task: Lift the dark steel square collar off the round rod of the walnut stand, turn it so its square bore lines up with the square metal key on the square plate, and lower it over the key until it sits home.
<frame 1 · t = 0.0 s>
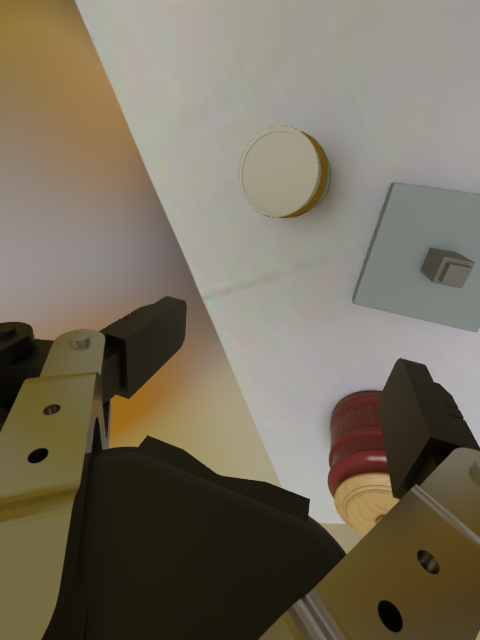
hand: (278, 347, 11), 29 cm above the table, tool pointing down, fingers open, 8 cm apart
square plate: (432, 257, 33), on the table
bottle: (301, 180, 35), on the table
canister: (373, 422, 45), on the table
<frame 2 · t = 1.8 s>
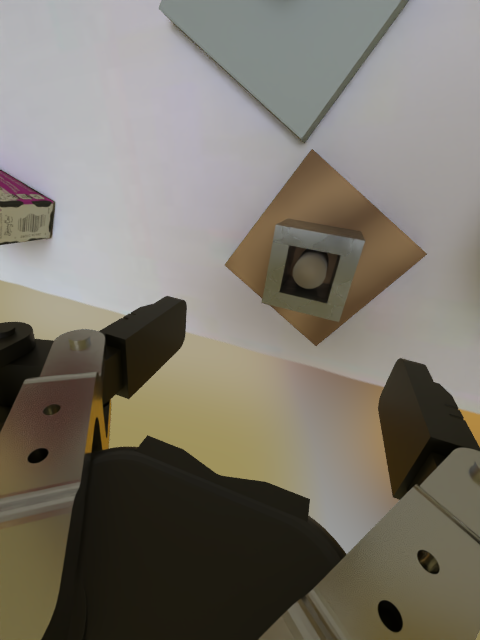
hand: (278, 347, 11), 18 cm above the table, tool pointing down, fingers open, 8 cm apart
stand: (315, 256, 26), on the table
candy bar box: (18, 197, 34), on the table
collar: (314, 260, 25), point 1 cm above the table, touching stand
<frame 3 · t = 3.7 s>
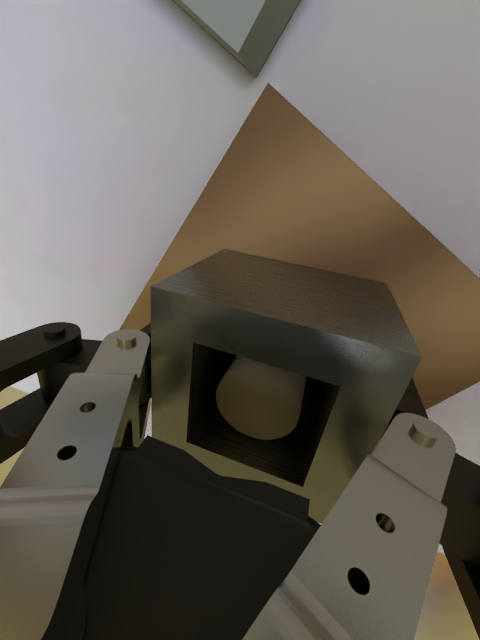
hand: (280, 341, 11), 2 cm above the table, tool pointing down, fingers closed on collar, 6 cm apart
stand: (289, 320, 13), on the table
collar: (284, 334, 12), point 2 cm above the table, touching gripper, stand
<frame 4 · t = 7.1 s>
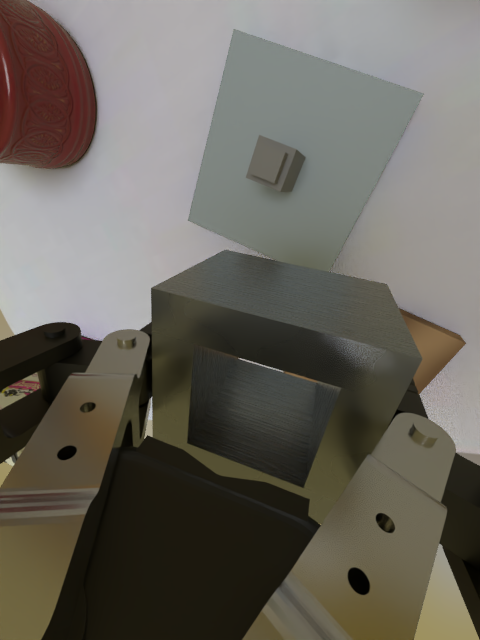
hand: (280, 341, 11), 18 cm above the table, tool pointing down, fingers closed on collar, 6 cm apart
stand: (361, 355, 29), on the table
square plate: (288, 170, 25), on the table
canister: (48, 98, 29), on the table
candy bar box: (98, 351, 42), on the table
collar: (284, 335, 12), point 17 cm above the table, touching gripper
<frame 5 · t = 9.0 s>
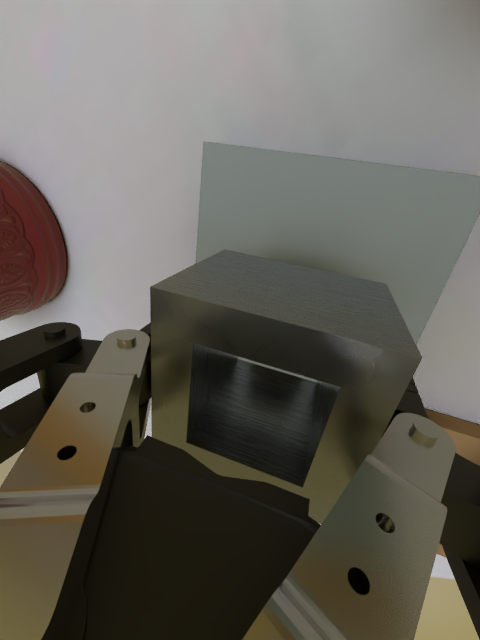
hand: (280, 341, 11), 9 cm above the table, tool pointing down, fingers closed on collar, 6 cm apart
stand: (447, 484, 22), on the table
square plate: (305, 281, 19), on the table
canister: (14, 237, 26), on the table
collar: (284, 335, 12), point 8 cm above the table, touching gripper
when the fingers open (4 cm above the table, at t = 10.6 s): collar stays where it is, resting on square plate.
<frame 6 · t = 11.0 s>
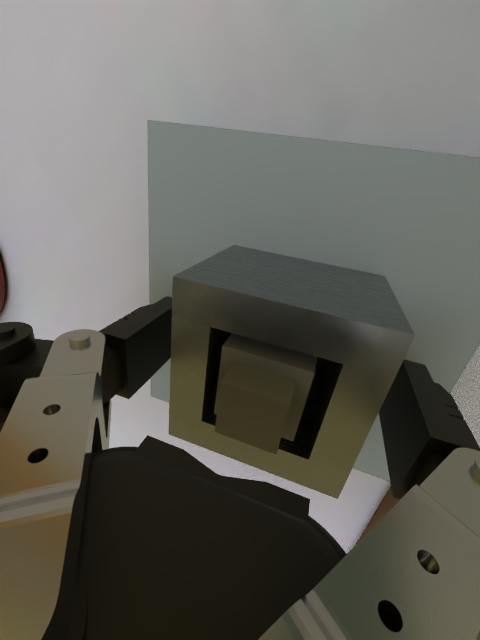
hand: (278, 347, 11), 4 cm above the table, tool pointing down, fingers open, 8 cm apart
stand: (475, 559, 17), on the table
square plate: (293, 308, 14), on the table
collar: (289, 325, 13), point 2 cm above the table, touching square plate
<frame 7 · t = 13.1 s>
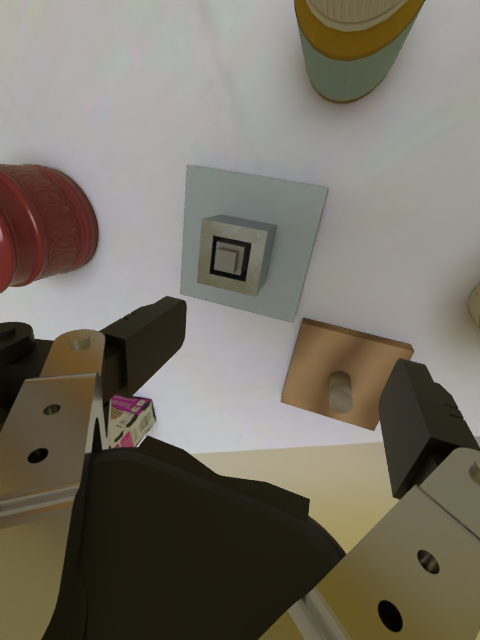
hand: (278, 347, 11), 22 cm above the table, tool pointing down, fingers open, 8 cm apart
stand: (339, 372, 35), on the table
square plate: (247, 245, 32), on the table
bottle: (350, 53, 23), on the table
canister: (59, 220, 38), on the table
candy bar box: (127, 403, 49), on the table
collar: (244, 248, 30), point 2 cm above the table, touching square plate
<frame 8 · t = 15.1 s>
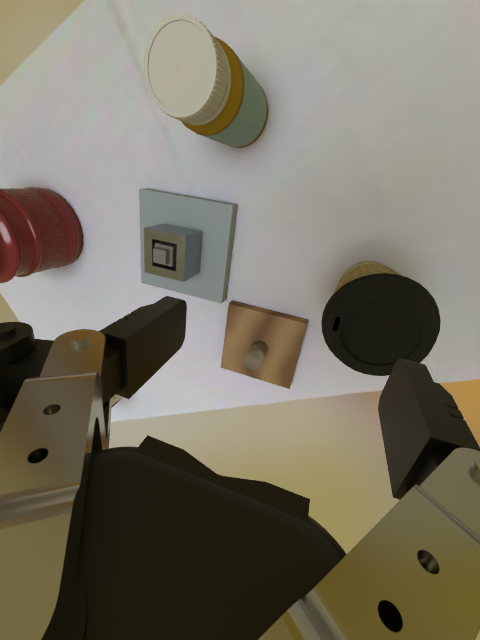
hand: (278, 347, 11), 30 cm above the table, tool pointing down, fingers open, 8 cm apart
coffee cup: (366, 284, 38), on the table
stand: (262, 343, 46), on the table
square plate: (188, 245, 43), on the table
bottle: (241, 114, 34), on the table
canister: (55, 228, 50), on the table
collar: (182, 248, 42), point 2 cm above the table, touching square plate
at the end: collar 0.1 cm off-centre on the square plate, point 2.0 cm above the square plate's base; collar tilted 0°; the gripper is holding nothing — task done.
